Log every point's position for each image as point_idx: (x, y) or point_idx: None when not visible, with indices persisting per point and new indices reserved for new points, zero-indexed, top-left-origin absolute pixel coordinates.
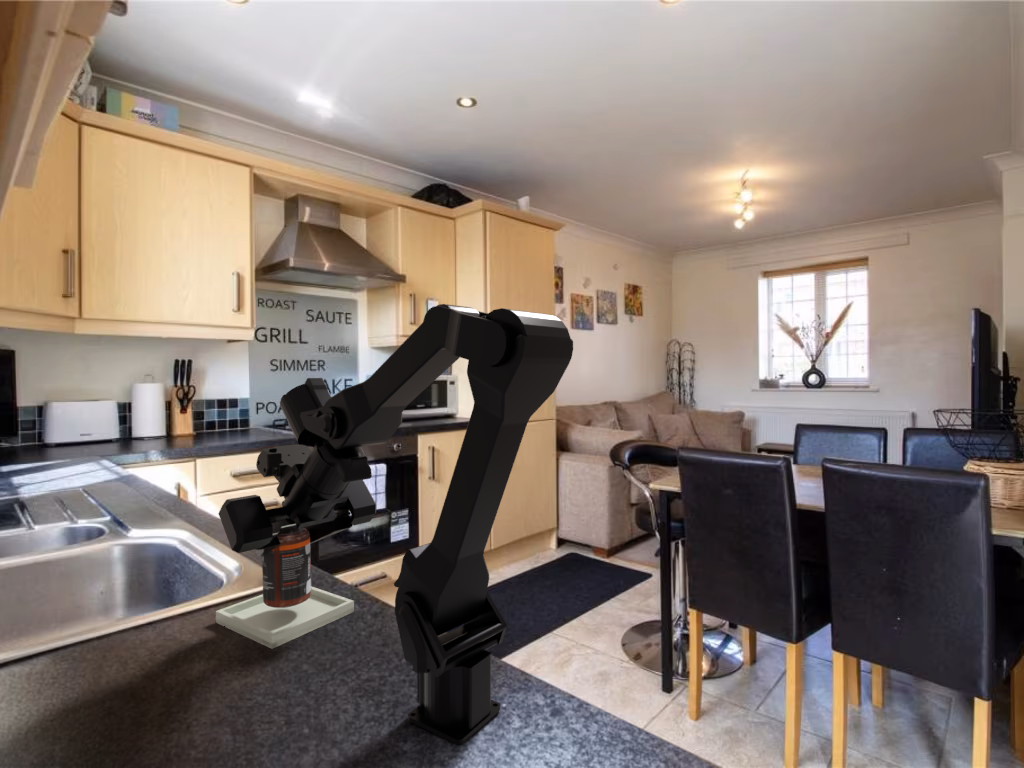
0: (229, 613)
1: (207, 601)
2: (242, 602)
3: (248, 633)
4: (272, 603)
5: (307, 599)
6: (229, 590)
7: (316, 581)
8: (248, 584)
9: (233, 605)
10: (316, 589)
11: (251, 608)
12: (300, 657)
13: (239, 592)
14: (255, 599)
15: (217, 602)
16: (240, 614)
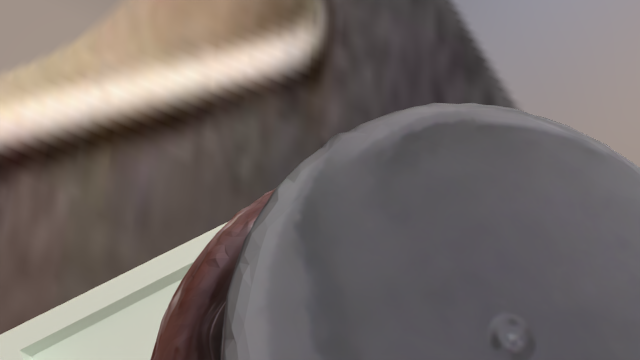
0: (61, 338)
1: (20, 101)
2: (123, 285)
3: None
4: None
5: None
6: (117, 33)
7: (449, 92)
8: (193, 9)
9: (78, 302)
10: None
11: (167, 303)
12: None
13: (151, 68)
14: (185, 267)
15: (54, 129)
16: (111, 356)
